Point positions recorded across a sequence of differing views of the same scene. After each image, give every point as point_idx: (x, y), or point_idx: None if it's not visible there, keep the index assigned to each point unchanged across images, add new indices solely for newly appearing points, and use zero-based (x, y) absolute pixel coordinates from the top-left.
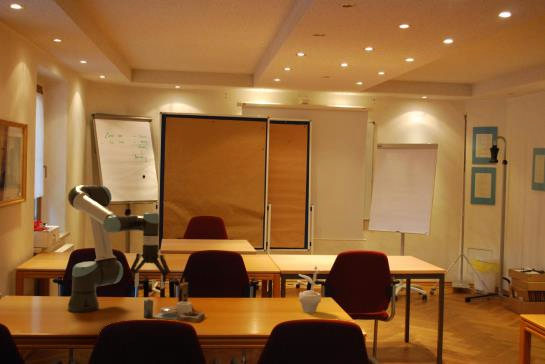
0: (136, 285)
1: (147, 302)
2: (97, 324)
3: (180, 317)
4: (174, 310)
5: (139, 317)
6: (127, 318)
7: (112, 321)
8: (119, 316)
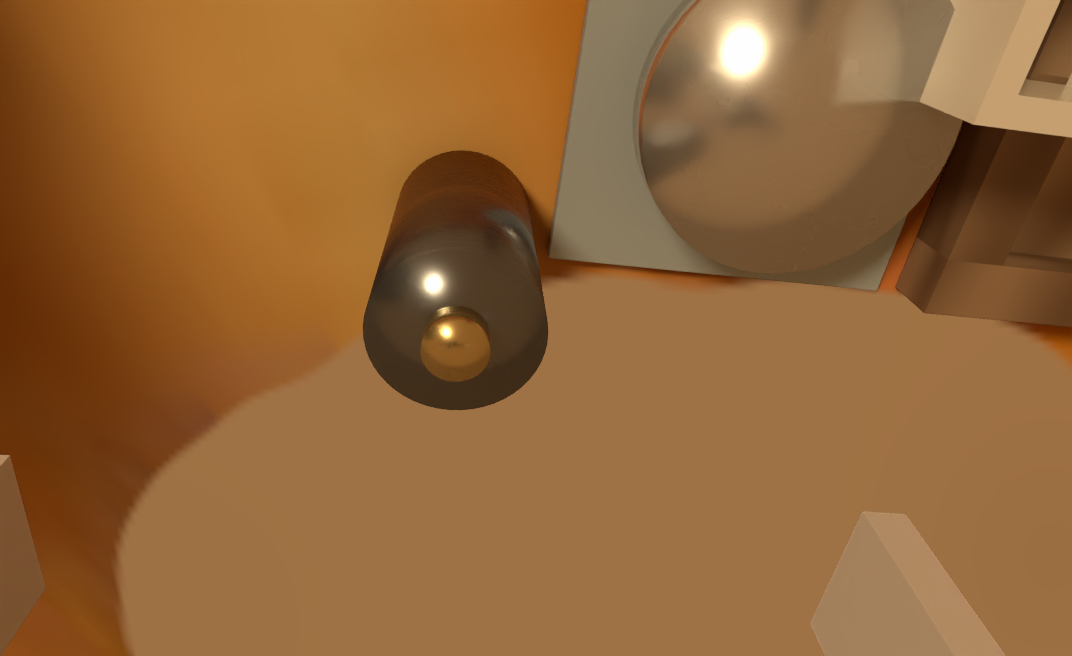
0: (21, 609)
1: (463, 399)
2: (63, 605)
3: (948, 310)
4: (892, 205)
5: (357, 270)
6: (228, 348)
7: (135, 492)
8: (62, 285)
